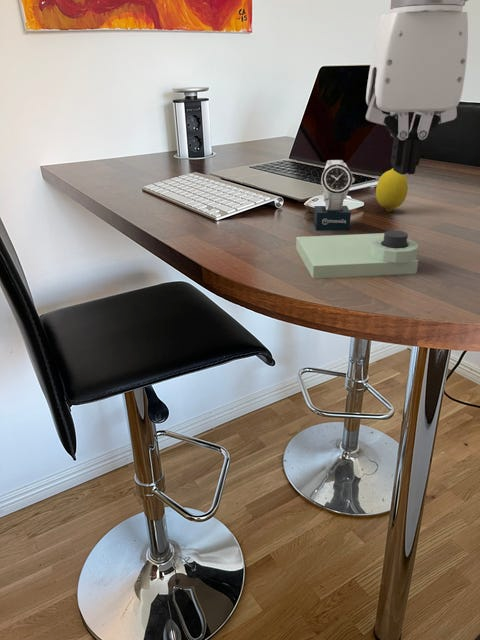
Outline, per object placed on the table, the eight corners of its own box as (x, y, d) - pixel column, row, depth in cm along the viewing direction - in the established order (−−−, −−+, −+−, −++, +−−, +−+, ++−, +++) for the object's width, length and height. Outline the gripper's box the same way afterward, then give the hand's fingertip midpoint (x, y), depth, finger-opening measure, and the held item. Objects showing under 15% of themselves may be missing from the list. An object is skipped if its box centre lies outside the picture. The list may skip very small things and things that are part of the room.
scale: (388, 244, 77) (391, 222, 75) (421, 275, 66) (425, 250, 64) (295, 248, 76) (296, 226, 74) (313, 280, 65) (315, 255, 63)
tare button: (401, 242, 68) (402, 229, 67) (409, 249, 66) (411, 236, 65) (379, 243, 68) (381, 230, 67) (387, 250, 65) (389, 237, 65)
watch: (317, 234, 82) (321, 165, 77) (312, 220, 89) (315, 156, 84) (351, 234, 82) (357, 165, 76) (344, 220, 89) (349, 156, 84)
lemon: (398, 207, 96) (404, 164, 92) (408, 215, 91) (414, 170, 87) (370, 208, 96) (374, 165, 92) (378, 216, 91) (383, 171, 87)
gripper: (476, 1, 58) (447, 165, 66) (349, 2, 57) (337, 168, 65) (513, -6, 51) (476, 176, 59) (370, -6, 50) (353, 180, 58)
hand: (403, 171), depth 62 cm, fingers closed
